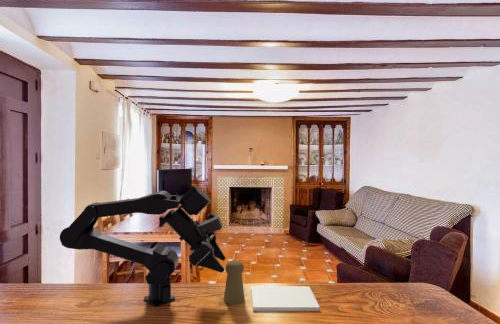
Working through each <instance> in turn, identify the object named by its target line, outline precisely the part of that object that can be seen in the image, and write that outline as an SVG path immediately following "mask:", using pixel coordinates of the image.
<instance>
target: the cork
mask: <svg viewBox="0 0 500 324" xmlns="http://www.w3.org/2000/svg"><path fill="white" fill-rule="evenodd" d="M244 267H245V266H244V263H243V262H241V261H240V260H229V261H228V262H227V263H226V264H225V273H226V274H227V275H226V279H225V280H226V281H225V289H224V293H223V294H224V295H223V302H224V303H226V304H229V305H234V306H235V305H240V304H243V303H244V302H245V301H246V300H245V290H244V283H243V282H244V281H243V274H242V273H244Z"/></svg>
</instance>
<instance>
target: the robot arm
mask: <svg viewBox="0 0 500 324" xmlns="http://www.w3.org/2000/svg"><path fill="white" fill-rule="evenodd" d="M211 202H212V200H211V199H210V197H209V196H208V194H207V193H205V191H203V190H202V189H200V188H198V187H197V186H196V185H195V184H193V185H192V186H191V187H190V188H189V189H188V191H187V192H185V194H184V195H181V196H180V195H173V194H170V193H169V192H168V191H166V190H159V191H157V192H153V193H149V194H147V195H144V196H140V197H135V198H128V199H120V200H114V201H105V202H98V201H97V202H96V201H95V202H94V203H91V204H88V205H87V206H85V208H84V209H83V210H82V211H81V213H80V214H79V215H78V216H77V217H76V218H75V219H74V220H73V222H72V223H71V224H70V225H69V226H68V227H66V228H63V229H62V230H61V231H60V234H59V241H60V243H61V246H63V247H64V248H66V249H70V250H71V249H72V250H77V251H79V250H93V251H94V250H95V251H97V252H101V253H104V254H108V255H110V256H114V257H116V258H120V259H124V260H127V261H130V262H134V263H136V264H139V265H142V266H143V267H144V268H146V270H148V272H147V274H146V275H145V277H144V279H145V281H146V284H147V285H148V295H146V296H143V300H144V301H146V302H147V303H150V304H151V305H152V306H154V307H158V306H161V305H164V304H165V303H168V302H171V301H173V300H175V299H176V296H174V295H172V286H171V275H172V274H173V273H174V271H175V270H176V268H177V266H178V264H179V255H178V253H177V252H176V250H173V249H172V248H173V247H172V246H170V247H169V246H165V245H163V244H161V243H158V244H157V245H156V246H155V248H150V247H149V248H148V247H145V246H142V245H139V244H136V243H132V242H129V241H127V240H123V239H120V238H116V237H114V236H110V235H106V234H103V233H102V232H100V231H99V230H98V229H97V228H96V227H95V225H96V224H97V222H98V220H99V218H105V217H113V216H121V215H123V216H124V215H129V214H146V215H154V216H155V215H158V216H159V215H160V216H159V217H158V221H159V223H158V228H162V227H164V225H165V224H167V225H168V226H169V227H170V228H171V229H172V231H174V232H175V233H176V234H177V235H178V236H179V238H178V240H180V241H181V242H182V241H184V242H185V243H186V244H187V245H188V246H189V247H190V248H189V250H190V253H189V256H188V262H189V263H190V264H191V265H192V266H194V267H195V266H196V267H202V268H206V269H209V270H212V271H215V272H218V273H224V272H225V268H224V266H223V265H222V264H221V262H220V261H219V260H221V261H225V260H226V256H225V255H224V252H223V251H222V249H221V247H220V246H219V244H218V242H217V233H216V232H217V231H220V230H222V228H223V223H222V221H221V217H219V215H217V214H216V215H215V214H214V213H213V212H211V213H208V214H207V217H206V220H203V222H200V221H199V219H198V220H194V219H193V218H192V217H191V216H193V215H194V216H198V215H200V213H201V212H202V211H203V210H204V209H205V208H206V207H207V206H208V205H209V204H210V203H211ZM179 205H180V206H179ZM175 208H177V209H175ZM168 210H169V211H168ZM167 211H168V212H167ZM166 212H167V213H166ZM165 213H166V214H165ZM163 214H165V215H163ZM218 259H219V260H218Z"/></svg>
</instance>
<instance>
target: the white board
mask: <svg viewBox="0 0 500 324" xmlns="http://www.w3.org/2000/svg"><path fill="white" fill-rule="evenodd" d="M250 292H251V303H252V311H253V312H258V311H259V312H267V311H269V312H280V311H281V312H293V311H294V312H301V311H302V312H305V311H306V312H311V311H312V312H320V310H321V309H320V308H321V307H320V305H319V303H318V301H317V298H316V296H315V294H314V293H313V291H312V289H311V287H310V286H304V285H302V286H297V285H293V286H292V285H288V286H287V285H286V286H285V285H283V286H282V285H281V286H280V285H279V286H278V285H276V286H275V285H273V286H272V285H271V286H270V285H269V286H268V285H267V286H266V285H265V286H264V285H261V286H260V285H259V286H258V285H251V286H250Z"/></svg>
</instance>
